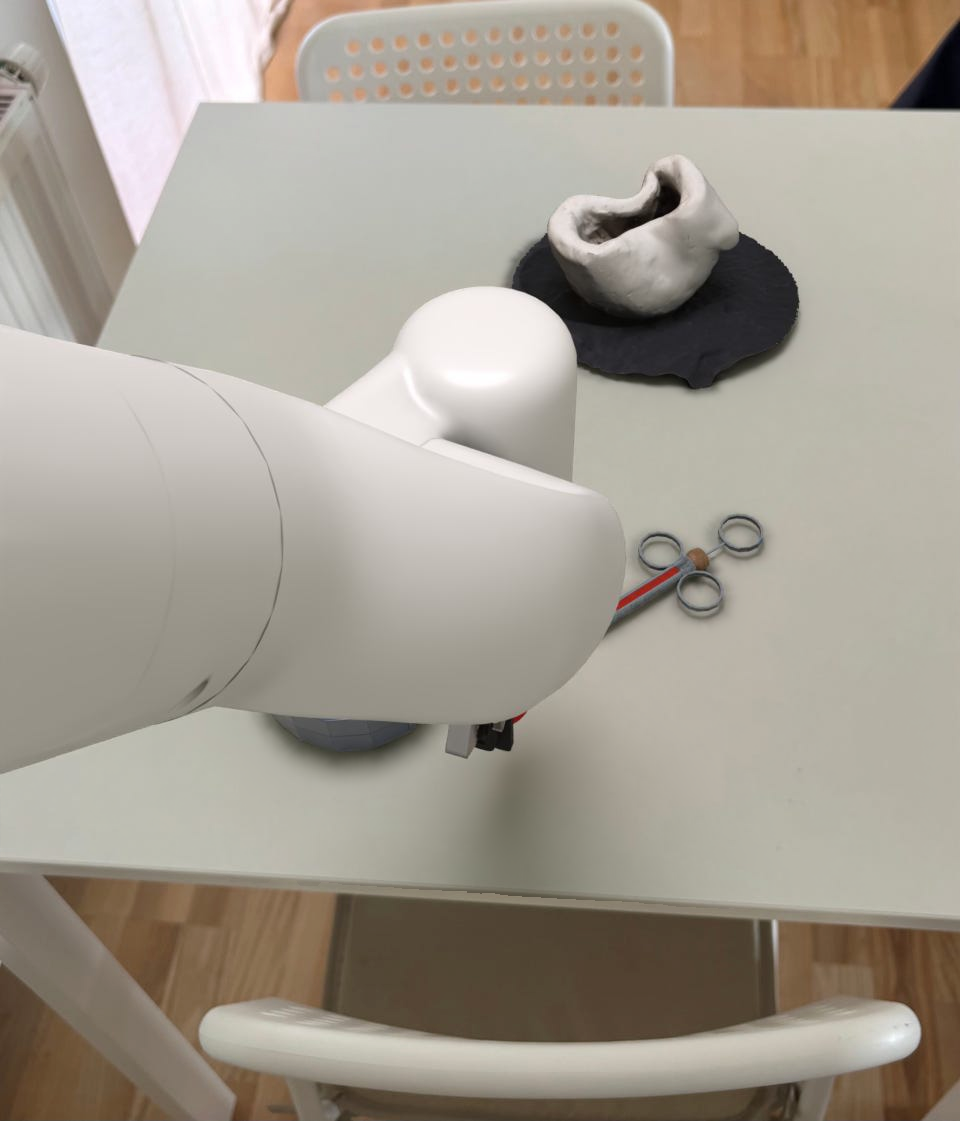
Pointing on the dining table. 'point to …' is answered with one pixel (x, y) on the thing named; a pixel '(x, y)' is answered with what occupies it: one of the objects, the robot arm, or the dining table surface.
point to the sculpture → (660, 279)
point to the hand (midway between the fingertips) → (499, 707)
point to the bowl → (344, 732)
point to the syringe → (679, 572)
